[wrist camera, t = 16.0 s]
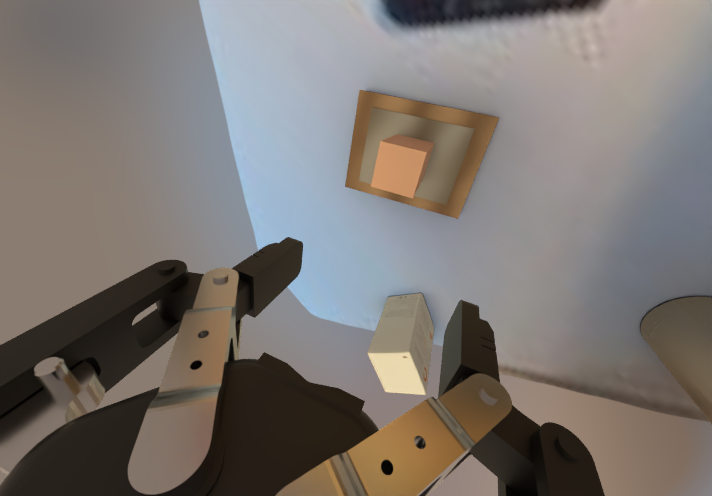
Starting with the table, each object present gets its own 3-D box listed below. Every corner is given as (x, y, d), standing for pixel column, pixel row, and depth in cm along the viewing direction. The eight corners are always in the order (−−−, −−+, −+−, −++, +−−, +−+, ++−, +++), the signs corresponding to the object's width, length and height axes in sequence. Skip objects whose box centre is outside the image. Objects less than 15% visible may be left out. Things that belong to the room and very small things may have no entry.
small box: (387, 296, 47) (365, 352, 36) (422, 291, 44) (410, 351, 33) (401, 331, 49) (384, 393, 39) (435, 329, 47) (427, 396, 36)
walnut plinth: (496, 117, 30) (499, 117, 27) (458, 212, 36) (457, 220, 34) (366, 91, 33) (358, 89, 31) (351, 182, 39) (343, 187, 37)
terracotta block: (434, 142, 31) (426, 152, 24) (422, 180, 33) (412, 198, 26) (397, 134, 31) (380, 141, 25) (388, 171, 34) (370, 186, 27)
